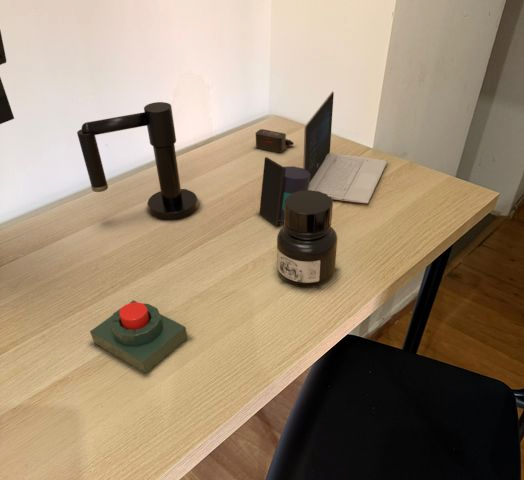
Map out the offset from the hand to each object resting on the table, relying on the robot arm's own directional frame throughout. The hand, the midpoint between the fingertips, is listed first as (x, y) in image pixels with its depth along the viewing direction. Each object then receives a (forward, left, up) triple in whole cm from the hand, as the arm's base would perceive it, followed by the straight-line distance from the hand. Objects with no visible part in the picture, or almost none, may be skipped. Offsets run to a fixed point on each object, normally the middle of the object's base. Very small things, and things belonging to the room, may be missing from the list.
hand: (2, 120), depth 70 cm
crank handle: (+1, +19, -16) cm, 25 cm away
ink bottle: (+35, +21, -23) cm, 47 cm away
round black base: (+4, +24, -23) cm, 34 cm away
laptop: (+25, +51, -23) cm, 61 cm away
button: (+25, -5, -19) cm, 32 cm away
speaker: (+23, +33, -23) cm, 46 cm away
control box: (+25, -5, -23) cm, 34 cm away
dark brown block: (+5, +55, -23) cm, 60 cm away
